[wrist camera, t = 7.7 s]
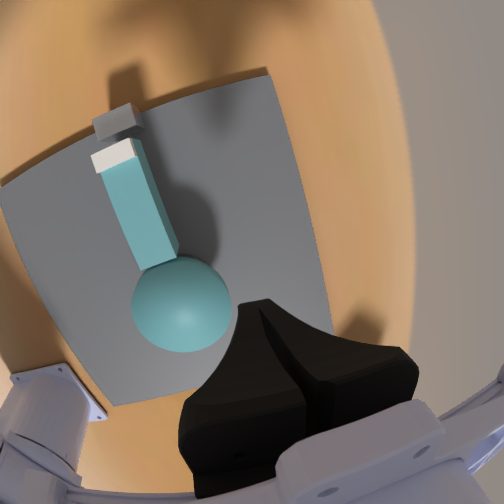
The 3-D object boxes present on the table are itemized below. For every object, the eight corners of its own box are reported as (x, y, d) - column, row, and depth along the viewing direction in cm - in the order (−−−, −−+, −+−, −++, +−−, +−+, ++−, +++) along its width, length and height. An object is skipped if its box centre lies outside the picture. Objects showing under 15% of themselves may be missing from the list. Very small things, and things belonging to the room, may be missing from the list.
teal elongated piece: (239, 315, 20) (246, 340, 17) (161, 341, 20) (157, 368, 17) (170, 128, 16) (164, 122, 13) (81, 167, 15) (61, 171, 12)
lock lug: (112, 143, 17) (98, 141, 14) (107, 124, 16) (91, 119, 13) (145, 129, 17) (136, 124, 14) (140, 110, 16) (129, 102, 14)
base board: (115, 400, 24) (113, 406, 23) (1, 189, 16) (-4, 191, 16) (331, 335, 26) (335, 340, 25) (267, 77, 18) (269, 74, 17)
